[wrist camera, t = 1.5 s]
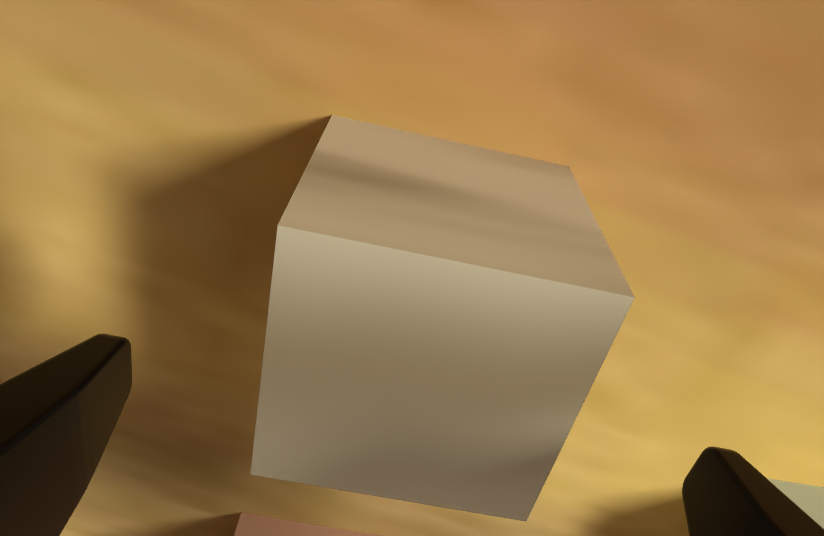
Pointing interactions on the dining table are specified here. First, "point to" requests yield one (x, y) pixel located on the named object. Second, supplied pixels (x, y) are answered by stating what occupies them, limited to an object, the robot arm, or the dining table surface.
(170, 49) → the dining table surface
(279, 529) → the terracotta cube
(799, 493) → the sage block
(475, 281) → the birch cube
